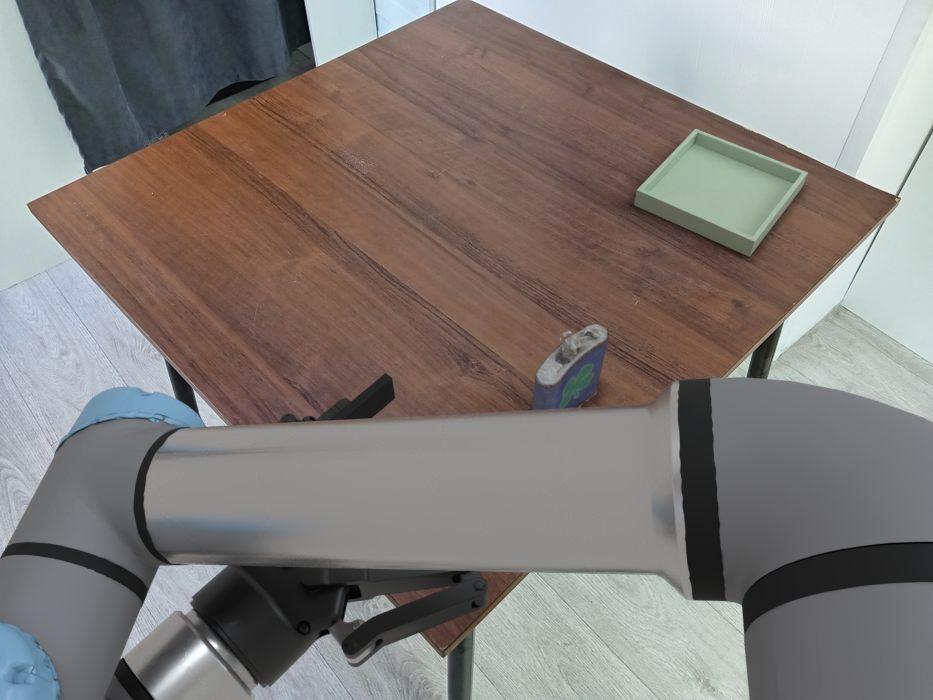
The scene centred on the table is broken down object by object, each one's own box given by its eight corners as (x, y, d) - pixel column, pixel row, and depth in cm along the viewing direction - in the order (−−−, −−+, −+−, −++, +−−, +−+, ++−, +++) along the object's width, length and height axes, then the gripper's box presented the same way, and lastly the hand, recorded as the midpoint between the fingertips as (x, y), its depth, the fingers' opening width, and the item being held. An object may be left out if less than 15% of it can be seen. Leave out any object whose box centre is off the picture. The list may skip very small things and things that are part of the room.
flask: (543, 445, 74) (551, 377, 66) (520, 427, 76) (525, 358, 67) (604, 388, 78) (618, 318, 70) (581, 372, 80) (592, 301, 71)
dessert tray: (802, 187, 97) (808, 172, 95) (749, 257, 89) (755, 241, 88) (691, 143, 103) (695, 128, 101) (633, 205, 95) (636, 189, 94)
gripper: (133, 549, 57) (348, 375, 67) (365, 812, 46) (581, 560, 56) (93, 500, 51) (335, 318, 61) (349, 789, 40) (593, 512, 50)
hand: (454, 434), depth 58 cm, fingers open, 13 cm apart
